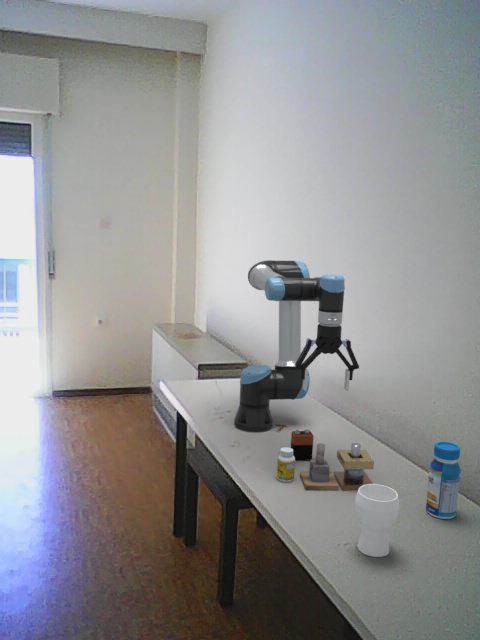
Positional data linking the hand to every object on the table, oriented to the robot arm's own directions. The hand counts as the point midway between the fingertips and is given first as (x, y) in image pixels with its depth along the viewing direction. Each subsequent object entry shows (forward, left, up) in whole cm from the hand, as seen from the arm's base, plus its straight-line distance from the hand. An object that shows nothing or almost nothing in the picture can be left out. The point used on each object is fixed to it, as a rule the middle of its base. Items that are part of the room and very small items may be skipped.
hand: (325, 389), depth 190 cm
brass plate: (+11, +8, -20) cm, 24 cm away
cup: (+48, +3, -27) cm, 55 cm away
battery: (-8, -5, -27) cm, 29 cm away
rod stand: (+11, -3, -27) cm, 29 cm away
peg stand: (+11, +8, -27) cm, 30 cm away
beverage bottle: (+30, +28, -27) cm, 49 cm away
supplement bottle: (+8, -13, -27) cm, 31 cm away
